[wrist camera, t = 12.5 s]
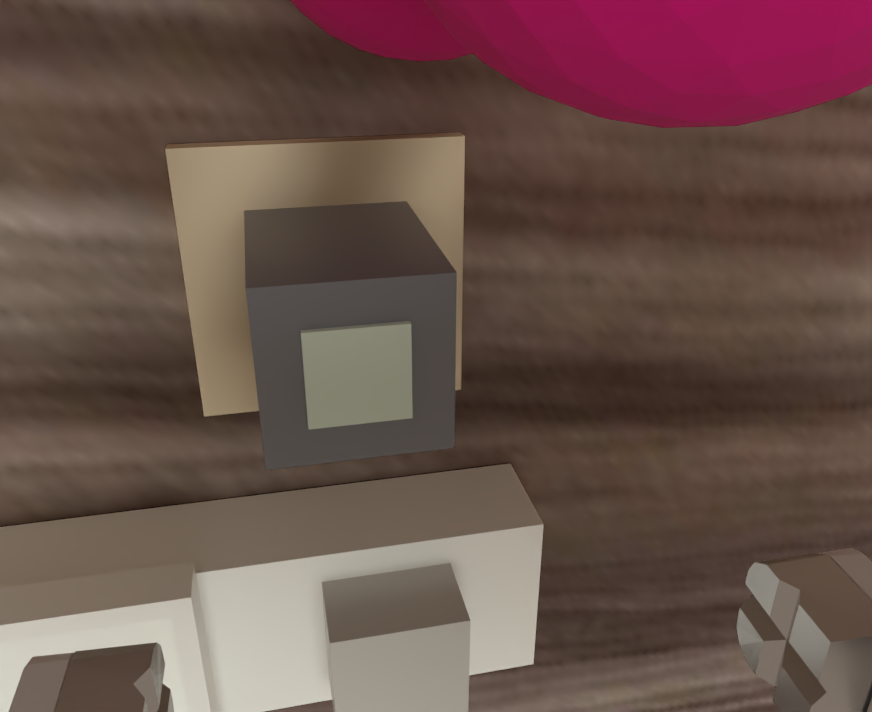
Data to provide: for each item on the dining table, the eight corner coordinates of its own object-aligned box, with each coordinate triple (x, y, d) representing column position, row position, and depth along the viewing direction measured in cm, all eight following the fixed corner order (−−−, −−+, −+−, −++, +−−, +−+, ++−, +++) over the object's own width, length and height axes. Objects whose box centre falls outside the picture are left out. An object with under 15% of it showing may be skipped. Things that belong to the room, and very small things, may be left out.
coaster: (459, 132, 23) (465, 136, 22) (456, 381, 26) (460, 389, 26) (167, 144, 21) (165, 148, 21) (204, 406, 25) (203, 416, 24)
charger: (406, 201, 23) (458, 274, 17) (408, 344, 25) (455, 451, 19) (244, 210, 22) (245, 291, 16) (259, 358, 24) (265, 473, 18)
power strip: (511, 452, 28) (573, 565, 23) (503, 603, 31) (557, 733, 26) (-423, 566, 23) (-623, 748, 17) (-323, 735, 26) (-467, 933, 20)
